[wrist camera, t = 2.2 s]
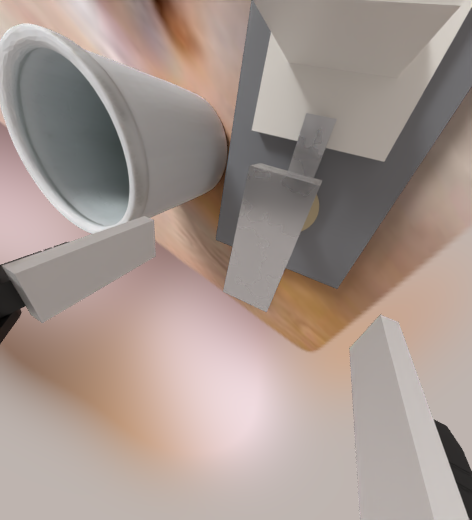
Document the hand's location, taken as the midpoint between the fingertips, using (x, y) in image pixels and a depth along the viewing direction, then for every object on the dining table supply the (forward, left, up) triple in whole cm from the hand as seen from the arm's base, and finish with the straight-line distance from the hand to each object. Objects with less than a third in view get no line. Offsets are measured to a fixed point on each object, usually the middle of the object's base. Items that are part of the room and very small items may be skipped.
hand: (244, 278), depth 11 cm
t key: (-2, 0, -15) cm, 15 cm away
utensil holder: (-2, -18, -20) cm, 27 cm away
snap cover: (-13, 0, -15) cm, 20 cm away
